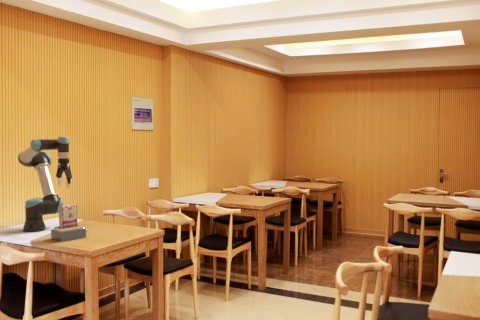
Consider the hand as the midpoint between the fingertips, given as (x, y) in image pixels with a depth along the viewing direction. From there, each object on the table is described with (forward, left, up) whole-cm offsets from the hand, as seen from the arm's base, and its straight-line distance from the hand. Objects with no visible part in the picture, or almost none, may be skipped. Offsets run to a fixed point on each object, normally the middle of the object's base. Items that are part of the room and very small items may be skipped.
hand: (64, 187), depth 330 cm
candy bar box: (+20, -7, -27) cm, 34 cm away
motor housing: (+20, -4, -33) cm, 39 cm away
